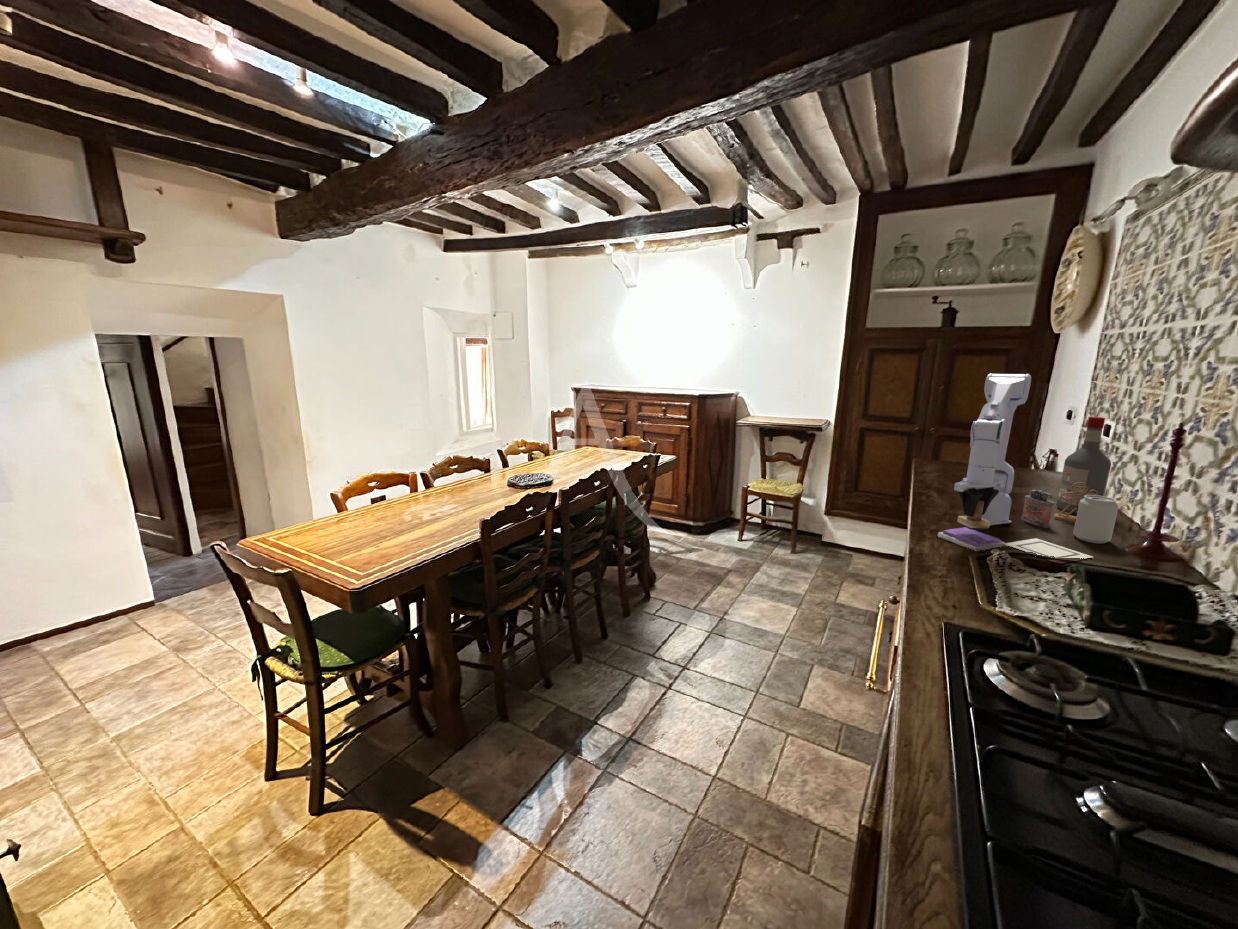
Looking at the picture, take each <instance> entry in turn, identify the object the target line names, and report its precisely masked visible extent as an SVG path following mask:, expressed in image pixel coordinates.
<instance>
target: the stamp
mask: <svg viewBox="0 0 1238 929" xmlns="http://www.w3.org/2000/svg"><path fill="white" fill-rule="evenodd" d="M983 506H984V501H981V500H979V502H978V504H977V507H976V511H975V514H974V516H973V517H971V516H968V515H958V516H957V521H956V522H957V524H958V525H960V526H962V527H966V528H968V529H970V530H989V528H990V521H987V520H985V519H983V518H982V513H983Z"/></svg>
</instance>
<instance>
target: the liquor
mask: <svg viewBox="0 0 1238 929" xmlns="http://www.w3.org/2000/svg"><path fill="white" fill-rule="evenodd" d="M1105 421H1106V417H1101V416H1089V417H1088V420H1087V423H1086V424H1087V425H1086V427H1087V428H1086V431H1085V436H1084V441H1083V444H1082V445H1081V447H1080V448H1078V449H1077V450H1076V451H1074V452H1073V453H1071V454H1069V455H1068V456H1067V457H1066V458H1065V459H1064V463H1063V469H1062V473H1061V478H1060V484H1059V490H1058V495H1057V498H1056V508H1057V509H1060V510H1061V511H1062V510H1064V509H1065V508H1066V507H1067V506H1068V505H1069V504H1070V499H1068V501H1067V502H1066V503H1062V502H1065V501H1066V500H1064V499H1062V498H1061V499H1060V500H1061V501H1062V502H1060V501H1059V498H1060V496H1061V495H1062V494H1064V493H1067V492H1073V491H1072V485H1073V484H1074V483H1077V482H1083V483H1085V484H1086V485H1087V486H1088V491H1087V492H1086V493H1084V494H1088V493H1089V491H1090V490H1096V491H1097V492H1098V495H1099V496H1105V494H1106V490H1107V484H1108V480H1109V475H1110V471H1111V467H1112V463H1111V460H1110V458H1109V457H1108V456H1107V455H1106V454H1105V453H1104V452H1103V450H1101V449H1100V448H1101V445H1100V443H1101V438H1102V437H1101V436H1102V431H1103V429H1104V426H1105ZM1085 484H1082V483H1078V484H1075V485H1074V486H1079V487H1082V486H1083V487H1085V488H1084V489H1081V488H1078V489H1077V488H1076V487H1073V490H1074V491H1075V489H1076V490H1077V491H1082V490H1084V491H1083V492H1085V491H1086V490H1087V489H1086V488H1087V486H1086V485H1085ZM1077 491H1075V492H1077ZM1096 491H1091V493H1094V494H1097V492H1096ZM1083 492H1080V493H1079V494H1081V493H1083ZM1077 494H1078V492H1077ZM1074 495H1075V494H1072V493H1068V494H1065V495H1063V496H1062V497H1063V498H1066V499H1067V498H1072V501H1071V503H1072V504H1073V503H1074V504H1076V501H1077V499H1076V498H1077V496H1074ZM1089 495H1092V494H1089ZM1084 496H1085V495H1082V497H1080V496H1079V499H1078V503H1077V504H1079V503H1080V500H1081V499H1083V498H1085V497H1084ZM1075 508H1076V509H1077V511H1078V508H1079V506H1078V505H1077V506H1076V505H1075V506H1074V505H1070V506H1069V507H1068V508H1067V509H1066V510H1065V512H1067V513H1068V514H1069V513H1070V512H1071V511H1072V510H1074V509H1075ZM1077 511H1076V510H1075V511H1073V512H1072V513H1071V514H1076V515H1077Z"/></svg>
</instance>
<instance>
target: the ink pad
mask: <svg viewBox="0 0 1238 929" xmlns="http://www.w3.org/2000/svg"><path fill="white" fill-rule="evenodd" d="M937 536H938V537H937V538H940V539H942V540H944V541H948V542H951V543H953V544H955V545H958V546H960V547H963V548H965V547H966V548H965V549H968V548H969V549H968V550H970V549H971V551H973V550H974V552H981V551H980V550H982V551H987V550H986V549H988V550H992V549H991V548H994V549H996V548H995V547H1000V548H1002V547H1001V546H1004V547H1006V546H1005V543H1006V542H1005V541H1002V540H1001V538H998V537H995V536H992V535H990V534H986V533H984V532H980V531H978V530H976V529H973V530H970V529H968V528H966V527H964V526H962V527H958V528H957V527H956V528H949V529H945V530H943V531H939V532H937Z"/></svg>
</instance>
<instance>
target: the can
mask: <svg viewBox="0 0 1238 929" xmlns="http://www.w3.org/2000/svg"><path fill="white" fill-rule="evenodd" d="M1084 497H1085V498H1083V499H1081V500H1080V503H1079V508H1078V512H1077V514H1076V516H1077V517H1076V522H1074V528H1073V533H1072V534H1073V535H1074V536H1075V537H1076V539H1077V540H1080V541H1083V542H1086V543H1092V544H1101V545H1102V544H1106V543H1108V542H1111V541H1112V538H1113V534H1114V529H1115V524H1116V520H1117V516H1118V511H1119V507H1120V506H1119V504H1118V503H1116V502H1117V499H1115V498H1113V497H1109V496H1105V495H1104V496H1099V495H1085V496H1084Z"/></svg>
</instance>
